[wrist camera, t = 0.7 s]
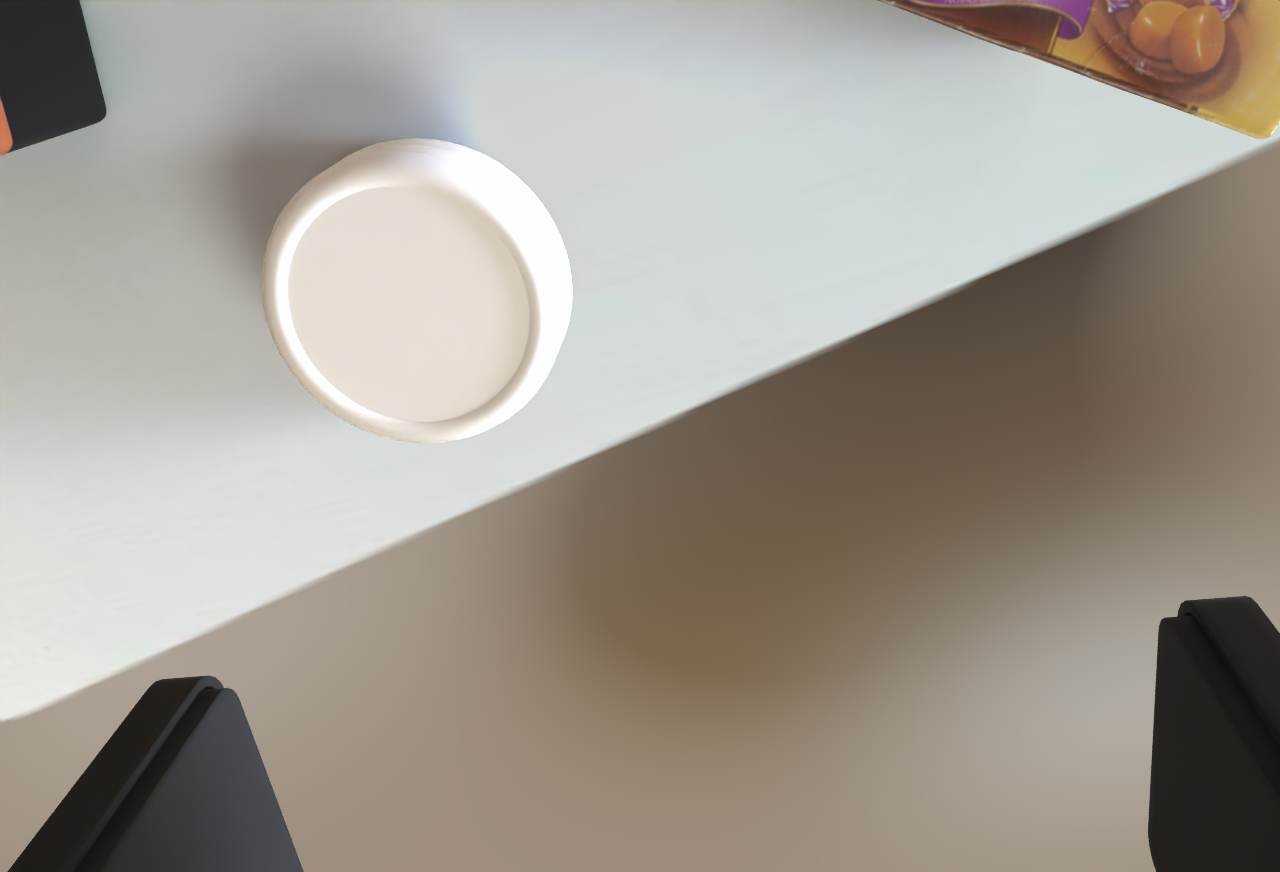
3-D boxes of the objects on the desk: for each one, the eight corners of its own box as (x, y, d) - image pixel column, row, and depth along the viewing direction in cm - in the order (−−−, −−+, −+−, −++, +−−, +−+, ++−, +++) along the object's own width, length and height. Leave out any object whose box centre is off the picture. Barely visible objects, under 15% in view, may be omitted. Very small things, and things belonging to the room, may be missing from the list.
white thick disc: (503, 89, 36) (480, 107, 33) (616, 358, 40) (606, 397, 36) (243, 195, 38) (198, 221, 35) (374, 440, 42) (344, 484, 39)
